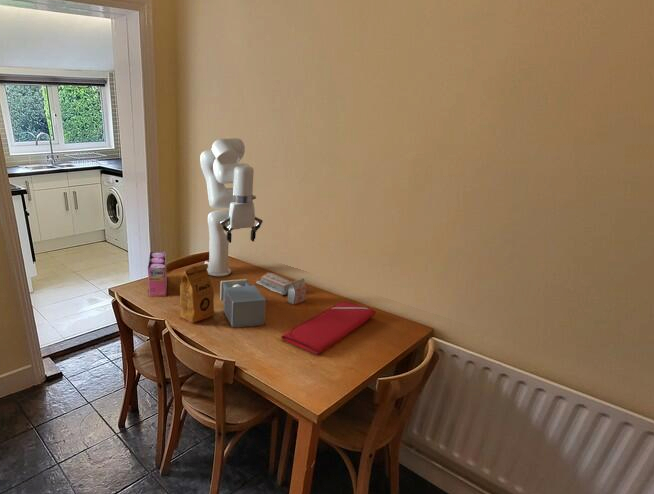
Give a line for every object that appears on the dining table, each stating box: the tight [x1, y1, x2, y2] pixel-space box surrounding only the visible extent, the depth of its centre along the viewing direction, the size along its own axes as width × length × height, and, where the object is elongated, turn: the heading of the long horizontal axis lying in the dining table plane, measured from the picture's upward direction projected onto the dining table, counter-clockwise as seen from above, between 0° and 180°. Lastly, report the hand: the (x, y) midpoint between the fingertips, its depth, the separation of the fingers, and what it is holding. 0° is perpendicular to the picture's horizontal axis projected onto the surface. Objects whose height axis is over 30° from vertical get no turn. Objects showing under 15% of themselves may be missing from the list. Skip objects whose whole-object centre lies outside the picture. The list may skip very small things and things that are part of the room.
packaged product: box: [255, 272, 292, 296], centre depth 190 cm, size 18×5×10 cm
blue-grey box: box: [223, 285, 267, 328], centre depth 161 cm, size 15×13×11 cm
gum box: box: [147, 251, 168, 297], centre depth 192 cm, size 24×8×14 cm, turn 2°
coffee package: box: [179, 263, 215, 324], centre depth 160 cm, size 10×12×22 cm
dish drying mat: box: [280, 301, 377, 355], centre depth 154 cm, size 16×41×4 cm, turn 132°
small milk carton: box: [287, 277, 307, 305], centre depth 175 cm, size 4×7×10 cm, turn 124°
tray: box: [219, 278, 250, 303], centre depth 173 cm, size 19×11×9 cm, turn 9°
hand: (240, 241), depth 169 cm, fingers open, 9 cm apart
